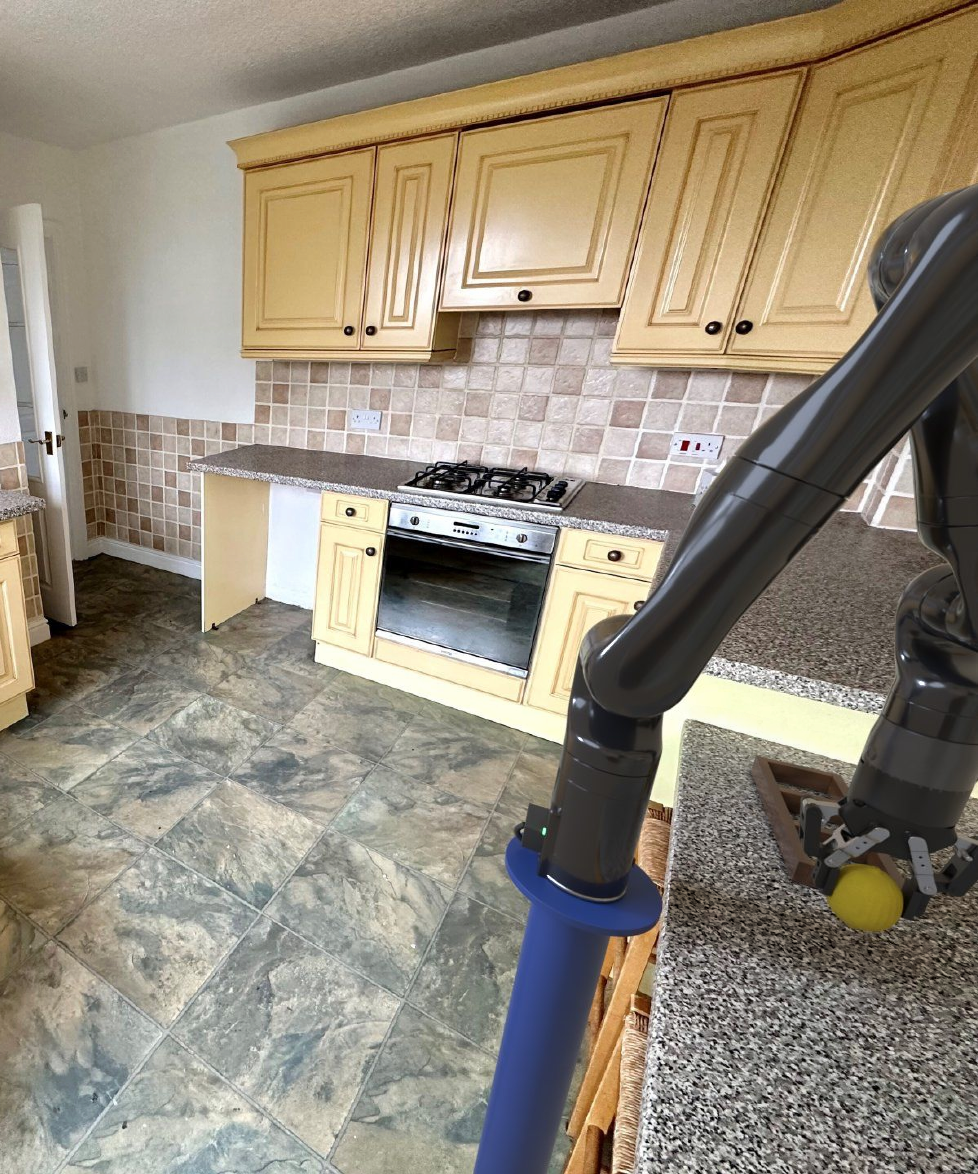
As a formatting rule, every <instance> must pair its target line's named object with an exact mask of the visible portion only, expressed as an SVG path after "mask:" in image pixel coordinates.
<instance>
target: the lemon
mask: <svg viewBox="0 0 978 1174" xmlns="http://www.w3.org/2000/svg"><path fill="white" fill-rule="evenodd" d="M839 868H840V870H841V871H840V873H839V876H838V878H837V881H836V883H835V886H834V889H833V891H832V894H831V896H827V895H825V896H826V897H825V898H826V902H827V905H828V906H829V908H830V909H831V911H832V913H833V914H834V915H835V916H836V918H838V919H839V920H840V921H841V922H843V923H845V924H846V925H847V926H848V927H849V928H850V929H852V930H859V931H863V932H873V933H874V932H883V931H886V930H889V929H891V928H892V927H893V926H895V925H896V924H897V923H898V921H899V920H900V919H901V917H900V916H901V914H902V910H903V894H902V891H901V889H900V887H899V886H898V884H897V883H896V882H895V881H894V880H893V879H892V878H891V877H890V876H889V875H888V874H886V873H885V872H883V871H882V870H880V869H879V868H878V867H876V866H869V865H865V864H861V863H851V864H846V865H844V866H841V867H839Z"/></svg>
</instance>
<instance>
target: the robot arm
mask: <svg viewBox="0 0 978 1174" xmlns="http://www.w3.org/2000/svg"><path fill="white" fill-rule="evenodd" d="M866 277H867V283H868V284H867V285H868V287H869V292H870V295H871V299H872V302H873V304H874V308H875V311H876V316H874V319H873V320H872V321H871V322H870V324H869V325H868V326H867V328H866V329H865V330H864V332H863V333H862V334H861V335H860V336H859V338H858V339H857V340H856V341H855V342H854V344H853V345H852V346H851V347H850V348H849V349H848V350H847V351H846V352H845V353H844V354H843V356H842V357H840V358H839V360H838V361H836V362H835V363H834V364H833V365H832V366H831V367H830V368H829V369H827V370H826V371H825V372H824V373H823V374H821V375H820V376H819V377H817V379H815V380H814V381H813V382H812V383H810V384H808V386H807V387H805V388H804V389H803V390H801V391H800V392H799V393H797V395H795V396H794V397H792V398H791V399H790V400H789V401H788V402H786V403H785V404H784V405H783V406H781V407H780V408H779V409H778V410H777V411H775V412H774V413H773V414H772V415H770V416H769V417H768V418H767V419H766V420H765V421H764V422H762V423H761V424H760V425H759V426H758V427H757V428H756V429H754V430H753V432H751V434H750V435H748V437H747V438H745V439H744V441H743V442H742V443H741V444H740V446H738V447H737V449H736V450H735V451H734V452H733V455H731V457H730V458H729V459H728V461H727V462H726V463H725V465H724V466H723V467H722V469H721V470H720V471H719V473H718V474H717V475H716V476H715V478H714V479H713V480H712V482H711V483H710V484H709V486H708V487H707V488H706V490H705V491H704V493H703V494H702V495H701V497H700V499H699V500H698V502H697V504H696V506H695V507H694V508H693V511H692V513H691V514H690V516H689V518H688V521H687V523H686V525H685V527H684V529H683V531H682V533H681V536H680V538H679V540H678V542H677V545H676V547H675V549H674V552H673V554H672V557H671V559H670V562H669V564H668V565H667V568H666V570H665V572H664V574H663V576H662V577H661V579H660V581H659V582H658V584H657V585H656V587H655V588H654V590H653V591H652V592H651V594H650V595H649V596H648V597H647V598H646V600H645V601H644V602H643V603H642V604H641V605H640V607H639V608H638V609H637V610H636V611H635V612H634V613H633V614H632V613H621V614H615V615H611V616H607V617H606V618H603V619H600V621H598V622H597V623H595V624H594V625H593V626H592V627H590V629H588V631H586V633H585V635H584V636H583V638H582V640H581V643H580V645H579V649H578V654H577V658H576V662H575V668H574V672H573V679H572V683H571V689H570V695H569V700H568V704H567V710H566V711H567V712H566V723H565V731H564V736H563V743H562V748H561V753H560V758H559V761H558V765H557V771H556V776H555V780H554V785H553V786H552V789H551V793H550V799H549V803H548V807H546V806H545V807H544V806H541V805H538V804H536V803H531V802H529V803H528V806H527V811H526V817H525V821H521V822H520V823H517V824H516V825H514V828H513V833H514V837H515V836H516V837H517V838H518V840H519V841H520V842H521V847H524V848H527V849H530V850H533V851H536V852H539V855H538V860H537V862H538V865H537V873H536V874H537V875H538V876H540V877H542V878H545V879H547V880H548V881H549V882H550V883H551V884H553V885H554V886H555V887H557V888H558V889H560V890H561V891H563V892H565V893H566V894H568V895H570V896H573V897H575V898H577V899H580V900H583V901H587V902H591V903H597V904H610V903H615V902H617V901H619V900H621V899H622V898H623V897H624V895H625V892H626V889H627V883H628V879H629V873H630V870H631V866H632V867H633V869H634V865H635V863H636V861H637V859H636V857H635V855H636V851H637V847H638V844H639V839H640V836H641V833H642V829H643V825H644V821H645V818H646V814H647V811H648V807H649V803H650V800H651V795H652V792H653V788H654V785H655V782H656V777H657V773H658V770H659V765H660V762H661V759H662V754H663V747H664V746H663V743H664V742H663V726H664V724H663V723H664V716H665V713H666V712H668V711H670V710H672V709H673V708H674V707H675V706H677V705H678V704H680V702H682V700H684V699H685V697H686V696H687V695H688V693H689V692H690V691H691V690H692V689H693V687H694V685H695V683H696V682H697V681H698V679H699V677H700V676H701V675H702V673H703V671H704V670H705V669H706V667H707V666H708V664H709V663H710V661H711V659H712V658H713V657H714V655H715V654H716V652H717V651H718V649H719V648H720V647H721V646H722V644H723V642H724V641H725V639H726V638H727V637H728V635H729V634H730V633H731V632H732V630H733V629H734V628H735V626H736V625H737V624H738V622H739V621H740V620H741V619H742V618H743V616H745V615H746V613H747V612H748V611H749V610H750V609H751V608H752V607H753V606H754V605H755V604H756V603H757V602H758V601H759V600H760V599H761V597H762V596H763V595H764V594H765V593H766V592H767V591H769V589H770V588H771V586H773V585H774V584H775V583H776V581H777V580H778V579H779V578H780V577H781V576H782V574H783V573H784V572H785V571H786V570H787V569H788V568H789V567H790V565H792V563H793V562H794V561H795V560H796V559H797V557H799V555H800V554H801V553H802V552H803V551H804V550H805V549H806V548H807V547H808V546H809V545H810V544H811V543H812V542H813V541H814V540H815V539H816V538H817V537H818V536H819V534H821V532H822V531H823V530H824V529H825V528H826V527H827V525H828V524H829V523H830V522H831V521H832V520H833V519H834V518H835V517H836V515H837V514H838V513H839V512H840V511H841V510H842V508H843V507H844V506H845V505H846V504H847V503H848V502H849V500H850V499H851V498H852V497H853V496H854V495H855V493H856V492H857V491H858V490H859V488H860V487H861V485H863V483H864V482H865V481H866V479H867V478H868V477H869V476H870V475H871V473H872V472H874V470H875V469H876V468H877V466H878V465H880V463H881V462H882V461H883V460H884V459H885V458H886V457H887V456H888V455H889V453H891V451H892V450H893V449H894V448H895V447H896V445H897V444H898V443H899V442H900V441H901V440H902V439H903V438H904V437H905V436H906V435H907V434H908V441H909V449H910V450H909V451H910V460H911V470H912V486H913V487H912V489H913V501H914V515H915V516H914V517H915V527H916V533H917V536H918V539H919V541H920V543H921V544H922V545H923V546H924V547H925V548H926V549H928V550H930V551H931V552H932V553H934V554H936V555H938V556H939V557H941V558H942V559H943V560H944V561H945V562H947V563H943V564H938V565H935V566H932V567H930V568H928V569H926V570H924V571H922V572H920V573H919V574H918V575H917V576H916V577H914V578H913V579H912V580H910V582H909V583H908V584H907V585H906V587H905V588H904V589H903V591H902V592H901V595H900V597H899V599H898V602H897V605H896V610H895V617H894V650H893V651H894V653H893V654H894V655H893V656H894V663H895V664H894V665H895V675H894V677H893V680H892V683H891V684H890V687H889V689H888V692H887V695H886V698H885V699H884V702H883V706H882V708H881V711H880V713H879V715H878V717H877V719H876V720H875V721H874V724H873V725H872V727H871V729H870V731H869V732H868V736H867V738H866V740H865V743H864V746H863V748H862V751H861V753H860V756H859V760H858V761H857V765H856V767H855V770H854V772H853V776H852V779H851V781H850V783H849V786H848V788H849V789H848V793H847V795H846V796H845V797H844V798H842V799H840V800H839V801H838V802H837V803H832V802H825V801H817V800H816V799H815V798H814V797H813V796H811V795H812V794H811V795H804V796H802V797H801V804H800V814H799V819H798V821H799V840H800V842H801V844H802V846H803V850H804V852H805V854H807V855H808V857H815V858H816V860H815V861H816V863H815V866H814V869H813V871H812V874H811V875H812V879H813V881H814V884H815V886H816V887H818V892H819V894H821V895H823V896H826V895H827V896H831V894H832V891H833V889H834V886H835V883H836V881H837V878H838V876H839V873H840V871H841V870H840V868H841V867H840V866H841V865H842V864H844V863H845V862H847V861H849V860H848V859H849V858H851V857H854V858H856V857H858V856H859V855H861V854H862V853H864V852H865V851H866V850H867V851H871V852H875V853H883V854H888V855H889V856H890V857H893V858H894V859H897V860H901V861H905V862H906V864H907V867H908V870H909V873H910V876H911V878H909V877H905V879H904V881H905V882H904V884H903V886H902V889H901V891H902V894H903V910H902V914H901V916H900V919H903V920H908V921H910V922H911V921H913V920H914V918H921V917H922V916H924V915H925V912H926V910H927V908H928V905H929V903H930V901H931V899H932V897H933V896H934V895H936V894H941V893H942V894H949V895H950V896H952V897H956V898H962V897H964V896H966V895H967V894H968V892H969V891H970V890H971V889H972V888H973V887H974V885H975V884H976V883H977V882H978V835H971V836H966V835H964V834H961V833H958V832H956V826H957V824H958V823H959V822H960V820H961V818H962V815H963V813H964V811H965V808H966V806H967V804H968V801H969V799H970V797H971V795H972V793H973V791H974V788H975V786H976V784H977V783H978V183H974V184H970V185H968V186H964V187H961V188H958V189H955V190H951V191H948V192H945V193H942V194H938V195H936V196H933V197H930V198H928V199H926V200H924V201H921V202H919V203H917V204H916V205H914V206H912V207H910V208H909V209H907V210H905V211H904V212H902V213H901V214H900V215H899V216H897V217H896V218H895V219H894V220H893V221H891V222H890V223H889V224H888V225H887V226H886V228H885V229H884V230H883V231H882V232H881V233H880V235H879V236H878V237H877V239H876V241H875V242H874V244H873V246H872V248H871V250H870V253H869V256H868V260H867V266H866ZM834 815H839V816H840V818H841V819H842V821H843V823H844V824H843V825H839V827H837V828H836V829H834V830H833V831H834V832H833V835H832V837H830V838H829V839H828V840H826V841H825V842H824V843H821V842H820V834H821V827H822V824H827V823H829V822H828V821H829V820H830V818H831V817H832V816H834ZM521 831H523V836H522V834H521V833H522V832H521ZM951 846H952V851H953V853H954V854H952V856H951V857H950V858H949V859H948V861H947V862H946V863H945V864H944V866H943V867H942V868H941V869H940V870H939V871H938V872H934V869H933V865H932V862H931V858H930V855H931V854H934V853H937V852H939V851H942V850H944V849H947V848H949V847H951Z"/></svg>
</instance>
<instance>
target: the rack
mask: <svg viewBox="0 0 978 1174" xmlns="http://www.w3.org/2000/svg"><path fill="white" fill-rule="evenodd" d="M750 773H751V774H750V775H751V777H752V779H753V782H754V784H755V787H756V789H757V792H758V795H759V797H760V800H761V804H762V805H763V808H764V811H765V814H766V816H767V818H768V822H769V824H770V826H771V830H772V832H773V835H774V837H775V840H776V843H777V846H778V849H779V851H780V853H781V856H782V859H783V862H784V864H785V866H786V869H787V872H788V875H789V877H790V880H791V882H794V883H797V884H801V885H804V886H806V887H807V886H808V887H811V888H814V889H816V890H817V889H818V887H816V886H815V884H814V881H813V879H812V875H811V874H812V871H813V869H814V866H815V863H816V861H817V860H814V859H810V858H809V855H807V854H805V852H804V850H803V846H802V844H801V842H800V840H799V820H796V819H793V818H792V816H791V814H790V813H794V814H797V815H800V804H801V797H802V796H804V795H811V796H813V797H814V798H815V799H816V800H817V801H825V802H832V803H837V802H838V801H839V800H840V799H842V798H844V797H845V796H846V795H847V793H848V789H849V786H848V783H847V782H846V781H845V779H844V777H843V776H842V774H838V773H834V772H829V771H825V770H822V769H816V768H812V767H808V766H804V765H799V764H795V763H791V762H787V761H783V760H779V759H774V758H769V757H765V756H762V755H761V756H760V755H757V754H756V755H755V756H754V760H753V763H752V766H751V769H750ZM777 782H779V783H783V784H788V785H791V786H796V787H799V788H802V789H803V788H804V789H807V790H810V791H816V792H819V793H824V794H826V795H827V796H828V798H827V797H824V796H823V797H822V796H818V795H815V794H811V793H807V792H802V791H799V790H795V789H790V788H787V787H782V786H778V783H777ZM827 823H831V824H835V825H838V826H842V825H843V824H844V823H843V821H842V819H841V818H840V816H839V815H834V816H832V817H831V818H830V820H829V821H828V822H827ZM834 831H835V830H833V829H829V828H826V827H822V826H821V834H820V842H821V843H824V842H825V841H826V840H828V839H829V838H830V837H832V835H833V832H834ZM847 861H850V862H854V863H856V864H865V865H869V866H876V867H878V868H879V869H880V870H882V871H883V872H885V873H886V874H888V875H889V876H890V877H891V878H892V879H893V880H894V881H895V882H896V883H897V884H898V886H899V887H900V889H902V886H903V884H904V882H905V879H904V877H903V876H902V874H901V872H900V871H899V869H898V867H897V866H896V864H895V862H894V860H893V859H892V856H890V855H888V854H883V853H875V852H871V851H867V850H866V851H865V852H864V853H862V854H861V855H859V856H858V857H856V858H854V857H851V858H849V859H848V860H847ZM818 890H819V889H818Z"/></svg>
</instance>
